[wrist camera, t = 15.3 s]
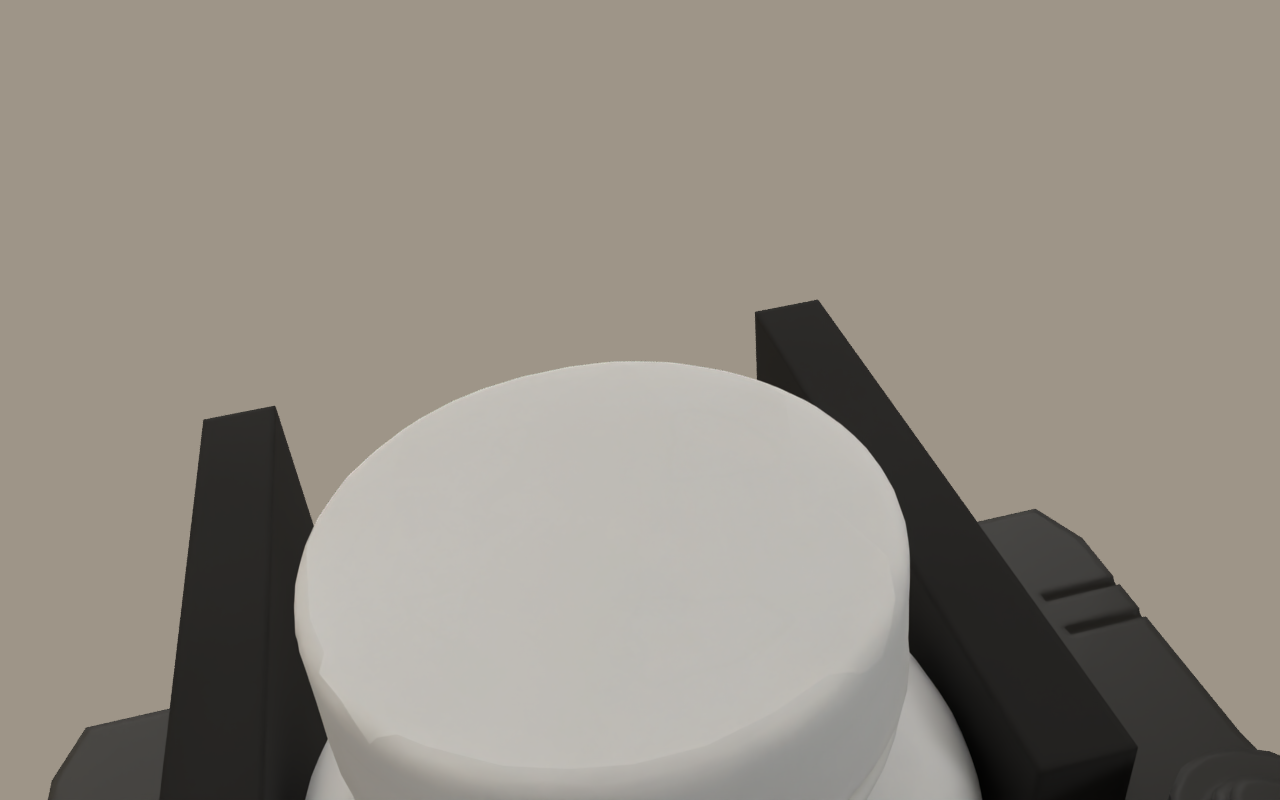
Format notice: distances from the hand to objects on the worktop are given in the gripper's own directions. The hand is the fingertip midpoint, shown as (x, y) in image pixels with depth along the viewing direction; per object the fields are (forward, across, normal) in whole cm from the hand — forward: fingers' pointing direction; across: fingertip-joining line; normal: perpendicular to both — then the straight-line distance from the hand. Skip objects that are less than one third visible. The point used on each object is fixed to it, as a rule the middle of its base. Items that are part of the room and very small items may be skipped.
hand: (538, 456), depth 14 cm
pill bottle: (-5, 0, -7) cm, 8 cm away
